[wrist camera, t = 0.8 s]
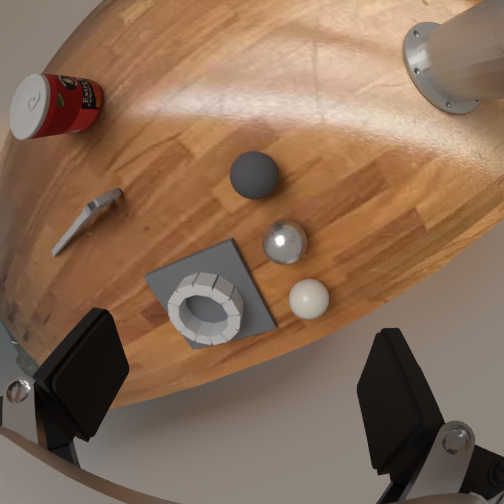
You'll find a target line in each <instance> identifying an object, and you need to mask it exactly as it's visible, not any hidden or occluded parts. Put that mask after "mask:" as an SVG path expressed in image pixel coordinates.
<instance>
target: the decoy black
mask: <svg viewBox="0 0 504 504" xmlns="http://www.w3.org/2000/svg"><path fill="white" fill-rule="evenodd" d="M278 178H279V173H278V168H277V166H276V164H275V162H274V161H273V160H272V158H270V157H269V156H268V155H266V154H264V153H261V152H256V151H253V152H247V153H244V154H242V155H241V156H239V157H238V158H237V159H236V160H235V161H234V163H233V165H232V167H231V170H230V180H231V184H232V186H233V188H234V189H235V191H236V192H237V193H239V194H240V195H241V196H243V197H245V198H248V199H260V198H263V197H265V196H267V195H269V194H270V193H271V192H272V191H273V190H274V189H275V187H276V185H277V182H278Z"/></svg>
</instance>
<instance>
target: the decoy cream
mask: <svg viewBox="0 0 504 504" xmlns="http://www.w3.org/2000/svg"><path fill="white" fill-rule="evenodd" d="M328 304H329V293H328V290H327V288H326V287H325V286H324V284H322V283H321V282H320V281H318V280H315V279H304V280H301V281H299V282H297V283H296V284H295V285H294V286H293V287H292V289H291V291H290V294H289V305H290V308H291V310H292V311H293V313H294V314H295V315H297V316H298V317H300V318H302V319H308V320H309V319H315V318H317V317H319V316H321V315H322V314H323V313H324V312H325V311H326V309H327V307H328Z"/></svg>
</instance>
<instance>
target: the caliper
mask: <svg viewBox="0 0 504 504" xmlns="http://www.w3.org/2000/svg"><path fill="white" fill-rule="evenodd" d="M121 194H122V193H121V192H120V190H119V188H116V189H114V190H111V191H109V192H107V193H105V194H103V195H101V196H99V197H97V198H95V199H94V200H93V201H92V202H90V203H88V204H87V206H86V207H85V208H83V209H82V210H83V212H82V213H81V215H80V216H79V217H78V218H77V219H76V220H75V222H74V224H73V225H72V226H71V227H70V229H69V230H68V231H67V232H66V233H65V235H64V236H63V237H62V238H61V239H60V241H59V242H58V243H57V244H56V246H55V247H54V248H53V250H52V251H51V252H52V254H53V255H54V257H55V256H56V255H57V254H58V253H59V252H60V251H61V250H62V249H63V247H64V246H65V245H66V244H67V243H68V242H69V241H70V240H71V238H72V237H73V236H74V235H75V234H76V233H77V232H78V231H79V230H80V229H81V228H82V227H83V225H84V224H85V223H87V222H88V221H90V220H91V219H92V218H93V217H94V216H95V214H96V213H97V212H98V211H99V210H101V209H102V208H104V207H106V206H107V205H109V204H110V203H112V202H113V201H114V200H115V198H116V197H118V196H120V195H121Z"/></svg>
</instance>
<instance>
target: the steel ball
mask: <svg viewBox="0 0 504 504" xmlns="http://www.w3.org/2000/svg"><path fill="white" fill-rule="evenodd" d="M262 247H263V250H264V253H265V254H266V256H267V257H268V258H269V259H270V260H271V261H273V262H274V263H277V264H280V265H289V264H293V263H295V262H297V261H298V260H299V259H301V257H302V256H303V255H304V253H305V251H306V249H307V236H306V233H305V231H304V229H303V228H302V227H301V226H300V225H299V224H298V223H296V222H294V221H292V220H287V219H282V220H278V221H275V222H273V223H272V224H270V225H269V226H268V227H267V228H266V230H265V232H264V234H263V237H262Z"/></svg>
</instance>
